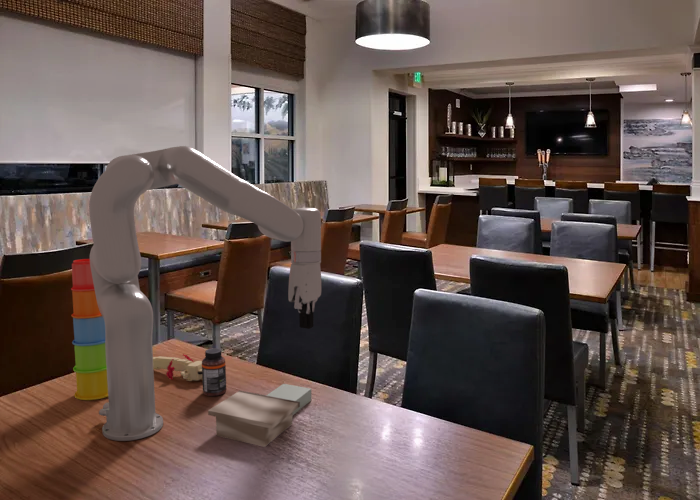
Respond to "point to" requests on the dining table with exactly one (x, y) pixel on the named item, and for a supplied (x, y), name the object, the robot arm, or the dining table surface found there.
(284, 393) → the pale green tile
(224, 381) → the supplement bottle
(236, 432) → the beige wooden box
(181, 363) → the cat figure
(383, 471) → the dining table surface
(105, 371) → the stacking cups
